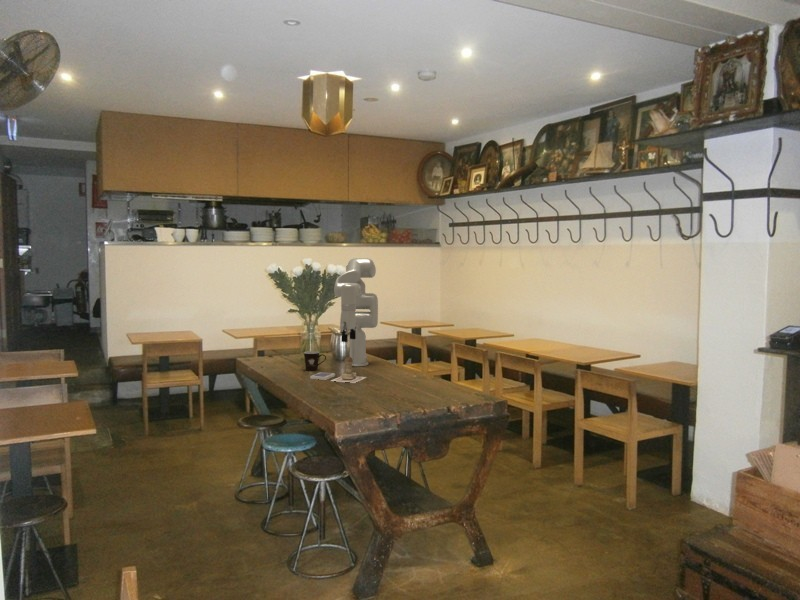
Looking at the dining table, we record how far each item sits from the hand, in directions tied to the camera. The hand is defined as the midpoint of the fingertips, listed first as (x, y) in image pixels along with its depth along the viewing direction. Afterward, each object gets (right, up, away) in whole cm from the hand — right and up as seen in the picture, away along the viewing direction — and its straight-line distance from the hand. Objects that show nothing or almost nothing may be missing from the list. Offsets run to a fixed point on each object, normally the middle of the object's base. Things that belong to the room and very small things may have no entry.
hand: (348, 340), depth 324 cm
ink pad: (-14, -20, +6) cm, 25 cm away
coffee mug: (-22, -19, +26) cm, 39 cm away
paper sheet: (0, -21, +1) cm, 21 cm away
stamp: (0, -20, +1) cm, 20 cm away
